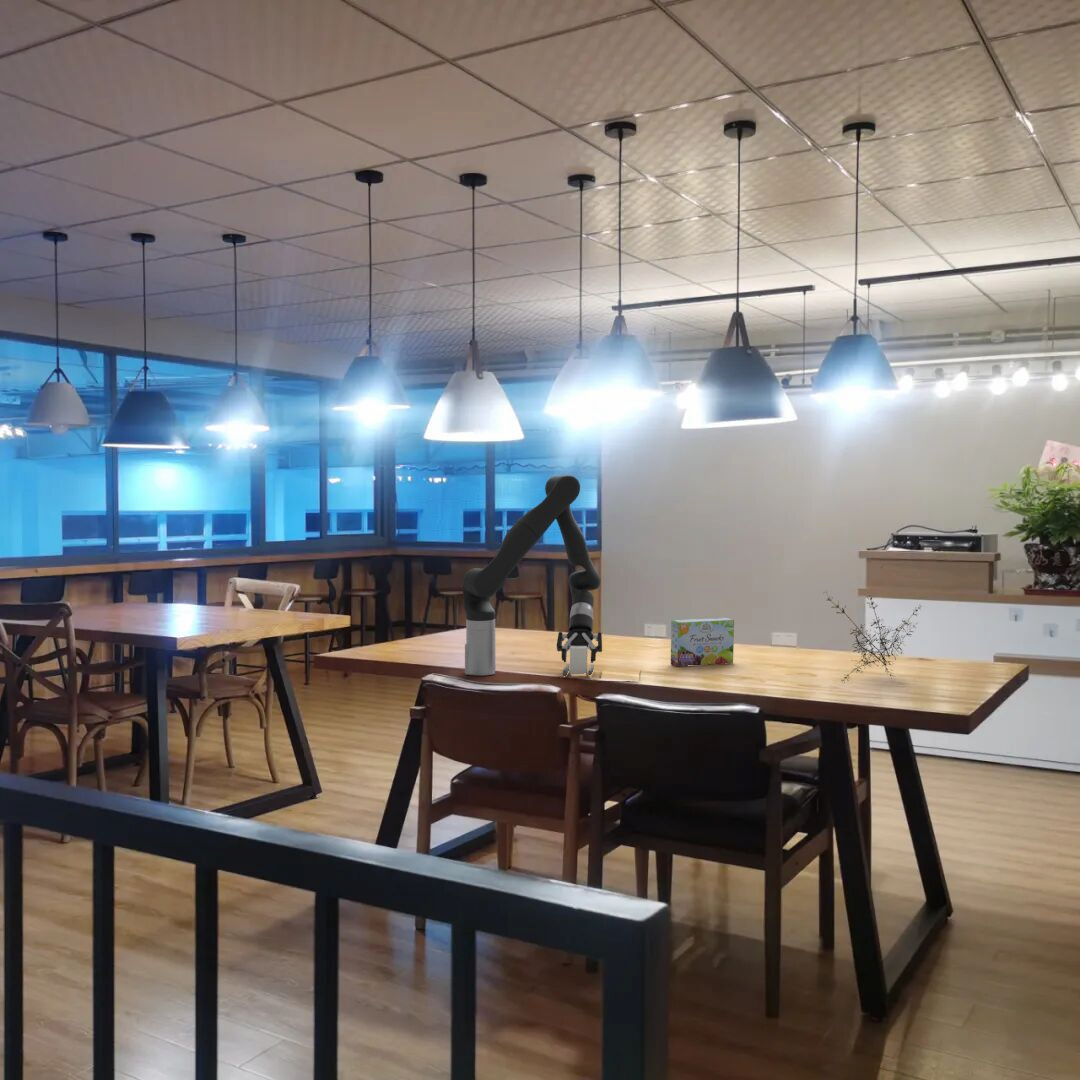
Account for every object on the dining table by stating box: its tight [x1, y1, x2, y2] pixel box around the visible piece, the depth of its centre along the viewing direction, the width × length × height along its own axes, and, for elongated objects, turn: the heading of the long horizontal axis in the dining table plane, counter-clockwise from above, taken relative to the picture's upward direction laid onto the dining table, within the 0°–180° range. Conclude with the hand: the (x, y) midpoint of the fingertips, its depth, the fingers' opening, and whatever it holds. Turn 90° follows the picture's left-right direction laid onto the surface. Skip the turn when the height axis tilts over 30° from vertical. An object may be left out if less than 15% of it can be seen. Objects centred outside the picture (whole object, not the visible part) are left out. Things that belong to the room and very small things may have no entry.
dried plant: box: [823, 591, 923, 684], centre depth 311 cm, size 30×31×45 cm
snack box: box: [670, 617, 735, 667], centre depth 351 cm, size 21×6×15 cm, turn 112°
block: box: [569, 646, 588, 675], centre depth 330 cm, size 5×5×9 cm
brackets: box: [562, 663, 595, 677], centre depth 331 cm, size 9×12×2 cm
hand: (578, 661), depth 329 cm, fingers open, 8 cm apart
